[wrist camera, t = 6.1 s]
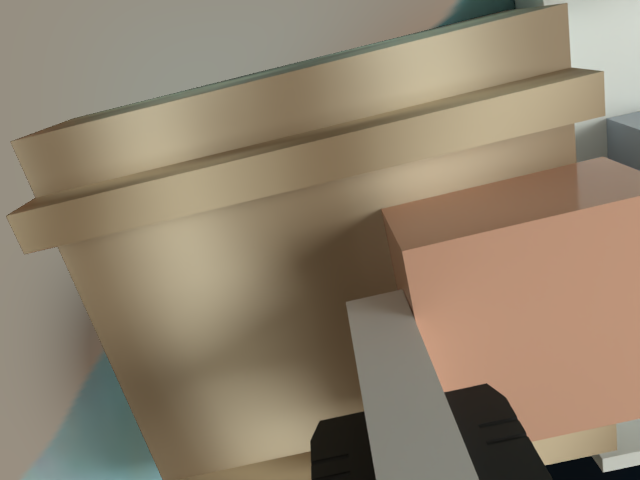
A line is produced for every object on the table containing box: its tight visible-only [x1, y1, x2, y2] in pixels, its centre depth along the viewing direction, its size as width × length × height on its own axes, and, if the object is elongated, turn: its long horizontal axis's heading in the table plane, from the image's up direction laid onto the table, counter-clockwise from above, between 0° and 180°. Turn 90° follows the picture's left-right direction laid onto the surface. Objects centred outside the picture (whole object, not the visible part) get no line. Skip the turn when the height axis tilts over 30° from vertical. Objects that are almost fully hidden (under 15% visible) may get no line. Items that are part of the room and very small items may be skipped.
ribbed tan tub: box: [6, 3, 617, 480], centre depth 17 cm, size 14×14×6 cm
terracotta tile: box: [381, 157, 640, 442], centre depth 14 cm, size 6×6×3 cm
